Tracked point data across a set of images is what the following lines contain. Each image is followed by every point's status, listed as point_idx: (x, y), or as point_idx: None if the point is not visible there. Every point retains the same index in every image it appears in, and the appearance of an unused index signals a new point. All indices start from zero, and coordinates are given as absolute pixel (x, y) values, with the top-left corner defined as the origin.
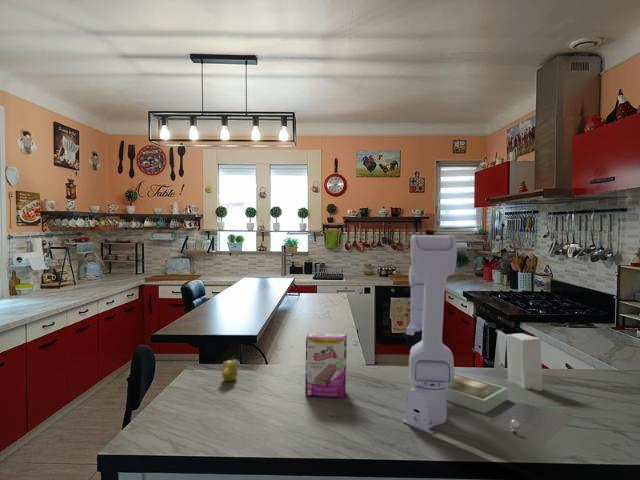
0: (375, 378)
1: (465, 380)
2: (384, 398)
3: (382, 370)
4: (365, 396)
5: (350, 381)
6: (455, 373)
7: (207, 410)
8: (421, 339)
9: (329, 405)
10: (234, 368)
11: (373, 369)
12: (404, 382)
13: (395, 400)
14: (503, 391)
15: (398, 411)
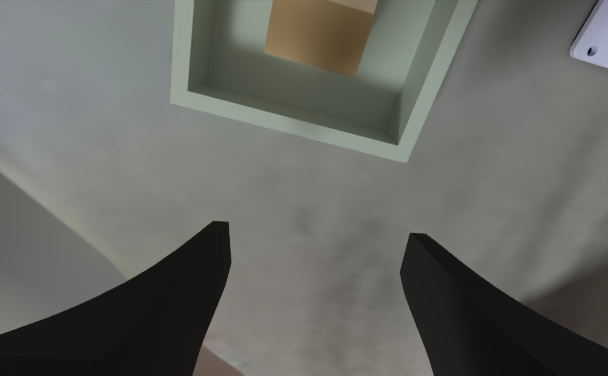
0: (318, 308)
1: None
2: (484, 227)
3: (231, 318)
4: (490, 276)
5: (386, 346)
6: (176, 22)
7: None
8: (594, 360)
9: (595, 319)
10: None
11: (243, 339)
12: (294, 228)
13: (488, 192)
14: None
15: (593, 147)
